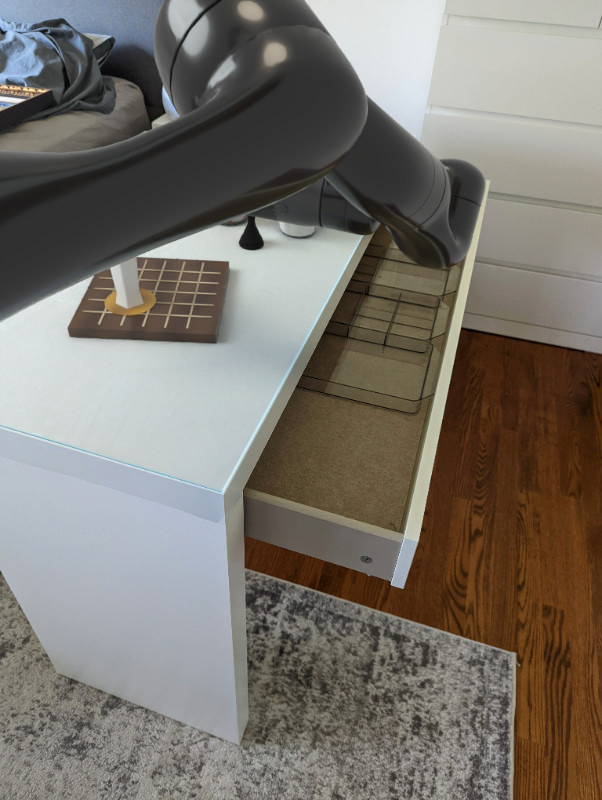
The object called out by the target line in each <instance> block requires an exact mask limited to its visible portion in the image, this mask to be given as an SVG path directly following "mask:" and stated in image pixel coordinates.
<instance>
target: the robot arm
mask: <svg viewBox="0 0 602 800" xmlns="http://www.w3.org/2000/svg"><path fill="white" fill-rule="evenodd" d="M152 37H153V38H152V46H153V57H154V61H155V65H156V69H157V72H158V76H159V78H160V82H161V84H162V86H163V88H164V91H165V93H166V95H167V97H168V99H169V100H170V103H171V105H172V107H173V108H174V110H175V112H176V113H177V115H178V117H177V118H174V119H172V120H170V121H168V122H167V123H163V124H161V125H158V126H156V127H154V128H152V129H149V130H146V131H144V132H142V133H139V134H136V135H134V136H132V137H129V138H127V139H124V140H121V141H118V142H115V143H112V144H107V145H104V146H100V147H95V148H89V149H84V150H74V151H67V152H66V151H65V152H61V151H59V152H58V151H27V150H13V149H0V323H2V322H3V321H6V320H7V319H9V318H12V317H13V316H15V315H17V314H19V313H21V312H23V311H24V310H26V309H28V308H30V307H32V306H34V305H36V304H38V303H39V302H42V301H44V300H46V299H48V298H49V297H52V296H54V295H57V294H58V293H61V292H62V291H64V290H66V289H68V288H71V287H73V286H75V285H77V284H78V283H81V282H83V281H86V280H88V279H90V278H93V277H94V275H96V274H98V273H100V272H102V271H105V270H107V269H109V268H112V267H114V266H116V265H118V264H120V263H123V262H125V261H127V260H129V259H132V258H134V257H140V256H141V255H144V254H145V253H148V252H150V251H153V250H155V249H158V248H160V247H163V246H165V245H169V244H171V243H173V242H176V241H180V240H182V239H184V238H188V237H190V236H193V235H195V234H198V233H200V232H203V231H206V230H208V229H212V228H214V227H217V226H219V225H223V224H222V223H225V222H228V221H230V220H233V219H236V218H238V217H241V216H244V215H249V216H254V217H256V218H259V219H265V220H270V221H273V222H284V223H289V224H294V225H299V226H308V227H315V228H321V229H322V228H323V229H328V230H333V231H337V232H343V233H348V234H352V235H357V236H371V235H373V234H375V233H376V231H378V229H379V227H380V226H381V225H383V226H385V228H386V230H387V231H388V233H389V235H390V236H391V238H392V241H393V242H394V244H395V245H396V247H397V248H398V249H399V251H400V252H401V253H402V254H403V255H404V256H405V257H406V258H408V259H409V260H410V261H412V262H413V263H415V264H417V265H419V266H421V267H424V268H427V269H431V270H446V269H450V268H453V267H455V266H457V265H458V264H460V263H461V262H462V261H463V260H464V259H465V258H466V256H467V255H468V253H469V251H470V248H471V245H472V242H473V238H474V233H475V231H476V226H477V222H478V218H479V215H480V212H481V207H482V204H483V200H484V196H485V192H486V186H487V184H486V183H487V181H486V177H485V175H484V174H483V172H482V171H481V169H480V168H478V167H477V166H476V165H475V164H473V163H472V162H470V161H467V160H465V159H460V158H453V157H452V158H449V157H447V158H438V157H436V155H435V154H433V153H432V152H431V151H430V150H429V149H428V148H427V147H426V146H425V145H424V144H422V142H420V140H419V139H417V138H416V137H415V136H414V135H412V133H410V132H409V131H408V130H407V129H406V128H405V127H404V126H402V125H401V124H400V123H399V122H398V121H396V119H394V118H393V117H392V116H391V115H390V114H388V113H387V111H385V110H384V109H383V108H382V107H381V106H380V105H378V104H377V103H376V102H375V101H374V100H373V99H372V98H371V97H369V95H367V93H366V90H365V87H364V85H363V83H362V81H361V79H360V76H359V74H358V73H357V71H356V70H355V68H354V66H353V65H352V63H351V61H350V60H349V59H348V57H347V56H346V54H345V53H344V51H343V50H342V49H341V48H340V46H339V45H338V42H336V40H335V39H334V37H333V36H332V34H331V33H330V32H329V30H328V29H327V28H326V26H325V25H324V24H323V23H322V21H321V20H320V19H319V17H318V16H317V14H316V13H315V12H314V10H313V9H312V8H311V6H310V5H309V4H308V3H307V1H306V0H162V2H161V5H160V6H159V9H158V12H157V16H156V19H155V21H154V27H153V36H152Z"/></svg>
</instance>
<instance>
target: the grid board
mask: <svg viewBox="0 0 602 800" xmlns="http://www.w3.org/2000/svg"><path fill="white" fill-rule="evenodd" d="M136 257H137V269H138V282H139V292H140V294H141V297H142V300H143V304H141V305H139V306H136V307H133V308H130V309H126V308H124V307H122V306H120V305H118V304H116V297H117V292H116V288H115V284H114V281H113V277H112V273H111V270H110V268H109V269H107V270H105V271H102V272H100V273H98V274H96V275H94V276H92V278H91V281H90V282H89V284H88V287H87V288H86V291H85V292H84V294H83V295H82V296H83V297H82V298H81V300H80V302H79V304H78V306H77V308H76V310H75V311H74V314H73V316H72V318H71V320H70V321H69V324H68V326H67V332H68V334H69V335H68V336H69V337H70V338H88V339H89V338H90V339H112V340H113V339H114V340H131V341H132V340H135V341H159V342H178V343H179V342H181V343H182V342H183V343H201V344H202V343H204V344H216V343H217V340H218V334H219V330H220V329H219V328H220V323H221V319H222V318H221V317H222V313H223V307H224V302H225V301H224V300H225V297H226V296H225V295H226V290H227V284H228V280H229V274H230V260H229V261H228V260H210V259H208V260H207V259H206V260H205V259H189V258H188V259H187V258H171V257H170V258H169V257H167V258H166V257H148V256H146V257H145V256H136Z"/></svg>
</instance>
